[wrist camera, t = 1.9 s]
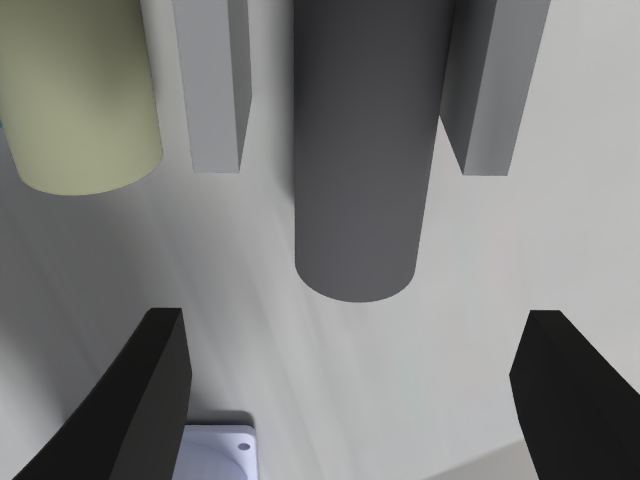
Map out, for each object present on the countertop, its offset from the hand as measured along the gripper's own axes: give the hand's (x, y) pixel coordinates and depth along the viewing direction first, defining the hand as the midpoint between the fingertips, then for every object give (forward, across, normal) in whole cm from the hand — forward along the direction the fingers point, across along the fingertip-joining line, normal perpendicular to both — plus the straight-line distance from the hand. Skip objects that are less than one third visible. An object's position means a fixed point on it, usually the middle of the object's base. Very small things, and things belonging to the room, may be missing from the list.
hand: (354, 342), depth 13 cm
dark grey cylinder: (+7, 0, -3) cm, 7 cm away
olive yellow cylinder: (+7, +6, -4) cm, 10 cm away
